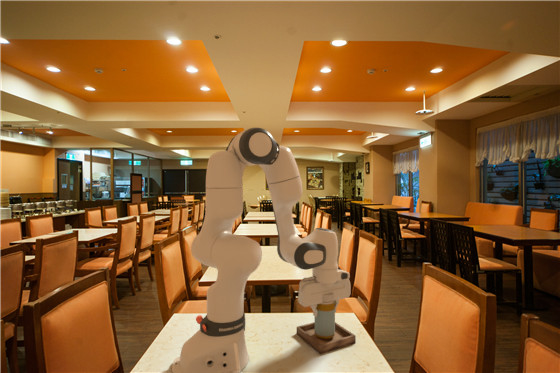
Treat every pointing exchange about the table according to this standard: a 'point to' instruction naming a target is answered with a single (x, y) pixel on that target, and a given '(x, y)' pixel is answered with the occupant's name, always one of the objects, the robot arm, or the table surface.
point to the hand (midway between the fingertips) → (324, 314)
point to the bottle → (325, 318)
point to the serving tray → (326, 345)
